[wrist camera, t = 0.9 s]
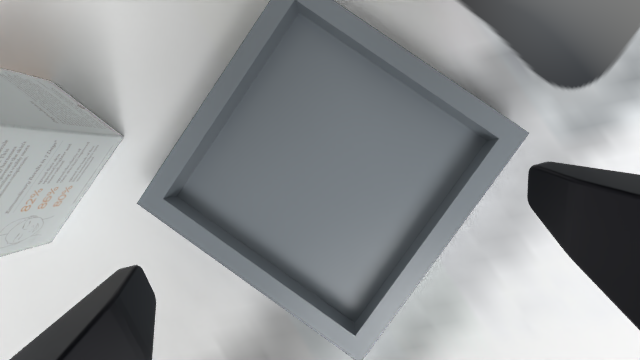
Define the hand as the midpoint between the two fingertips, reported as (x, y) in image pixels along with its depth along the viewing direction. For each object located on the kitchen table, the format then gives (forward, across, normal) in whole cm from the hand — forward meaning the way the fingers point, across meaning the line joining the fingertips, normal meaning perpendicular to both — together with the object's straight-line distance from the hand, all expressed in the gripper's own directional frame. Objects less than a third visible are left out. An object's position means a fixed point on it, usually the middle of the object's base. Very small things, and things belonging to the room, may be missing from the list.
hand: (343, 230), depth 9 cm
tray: (+13, -1, +4) cm, 14 cm away
